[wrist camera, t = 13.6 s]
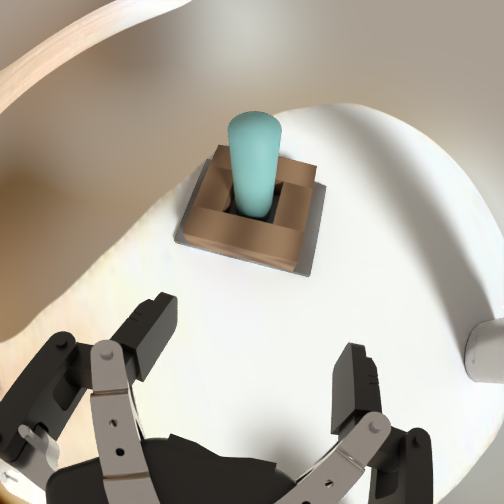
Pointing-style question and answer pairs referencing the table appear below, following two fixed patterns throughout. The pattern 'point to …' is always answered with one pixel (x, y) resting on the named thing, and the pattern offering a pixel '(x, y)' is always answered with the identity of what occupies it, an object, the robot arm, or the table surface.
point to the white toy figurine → (20, 485)
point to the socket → (253, 231)
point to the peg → (254, 162)
